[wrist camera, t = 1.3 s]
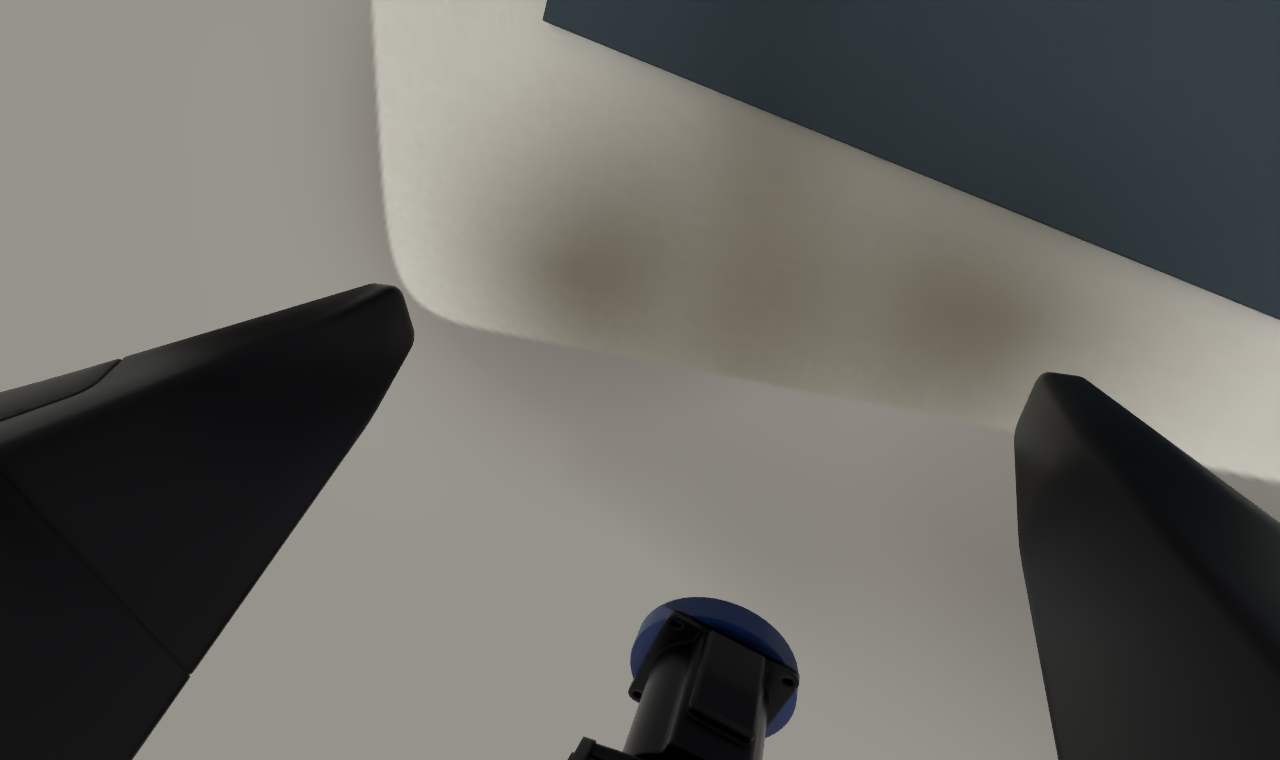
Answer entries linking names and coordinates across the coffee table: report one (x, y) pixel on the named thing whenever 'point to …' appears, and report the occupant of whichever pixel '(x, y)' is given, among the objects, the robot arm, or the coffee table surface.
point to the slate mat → (1019, 107)
